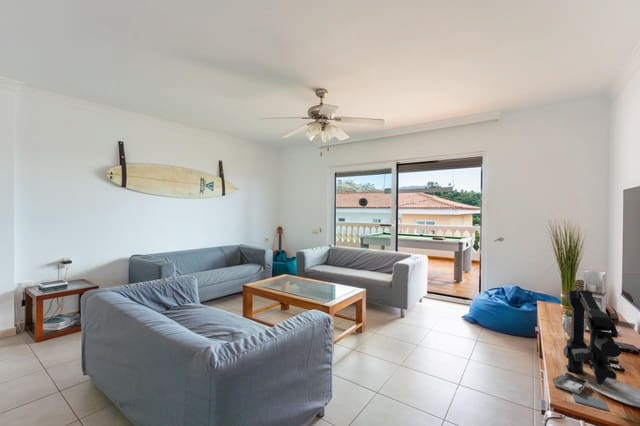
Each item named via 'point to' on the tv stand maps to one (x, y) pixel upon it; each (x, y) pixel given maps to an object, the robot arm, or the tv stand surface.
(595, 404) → the mat
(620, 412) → the tv stand surface
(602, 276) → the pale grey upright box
